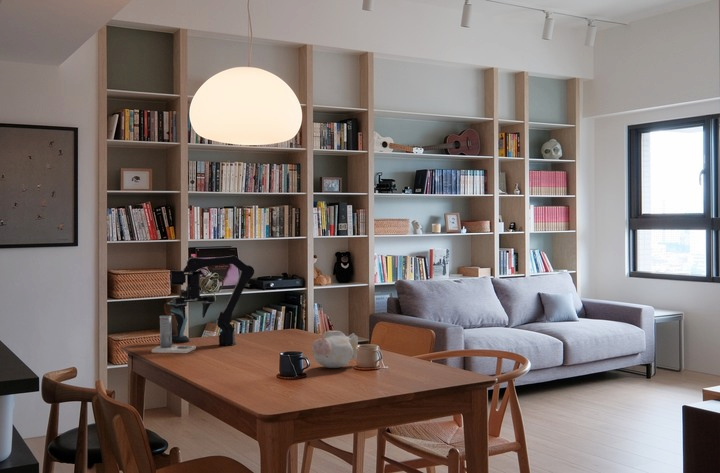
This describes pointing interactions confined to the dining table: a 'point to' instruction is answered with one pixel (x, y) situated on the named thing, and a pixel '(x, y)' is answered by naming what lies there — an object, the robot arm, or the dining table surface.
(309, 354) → the dining table surface
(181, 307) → the robot arm
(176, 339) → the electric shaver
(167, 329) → the metal tumbler
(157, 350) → the dial scale
